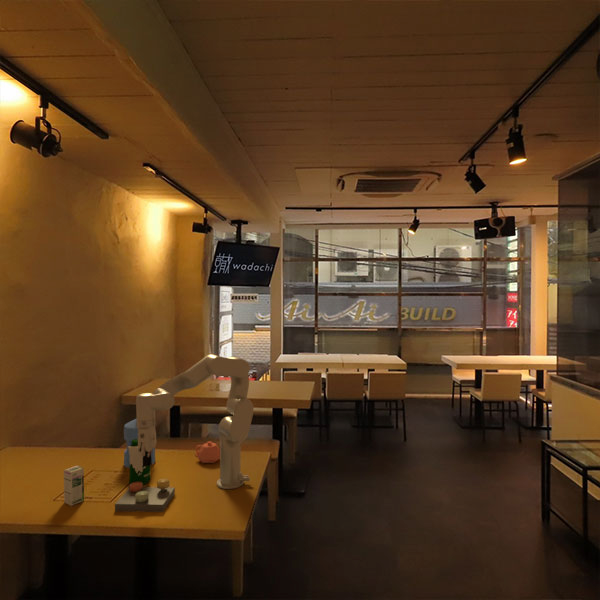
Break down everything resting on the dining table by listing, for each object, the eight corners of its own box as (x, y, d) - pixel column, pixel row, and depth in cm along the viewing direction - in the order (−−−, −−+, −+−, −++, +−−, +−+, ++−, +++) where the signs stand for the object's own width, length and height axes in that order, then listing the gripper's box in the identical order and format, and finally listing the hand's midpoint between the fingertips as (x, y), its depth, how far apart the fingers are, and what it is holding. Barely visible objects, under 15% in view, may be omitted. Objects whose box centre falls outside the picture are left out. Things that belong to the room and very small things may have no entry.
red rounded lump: (144, 492, 197) (144, 481, 197) (139, 498, 192) (139, 486, 192) (132, 492, 197) (132, 481, 197) (127, 498, 192) (127, 486, 192)
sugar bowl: (218, 465, 231) (218, 446, 231) (192, 465, 231) (192, 445, 231) (223, 456, 243) (223, 438, 243) (197, 456, 243) (197, 438, 243)
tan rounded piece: (170, 489, 197) (171, 478, 197) (167, 495, 191) (167, 483, 191) (159, 489, 197) (159, 478, 197) (155, 494, 192) (155, 483, 191)
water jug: (143, 455, 243) (143, 405, 243) (161, 462, 234) (161, 409, 234) (117, 464, 231) (117, 411, 230) (135, 471, 222) (135, 416, 221)
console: (174, 494, 198) (174, 487, 198) (163, 511, 182) (163, 504, 182) (130, 493, 198) (130, 486, 198) (114, 511, 182) (114, 503, 182)
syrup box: (71, 506, 186) (71, 472, 186) (63, 502, 189) (63, 469, 189) (84, 501, 191) (84, 467, 190) (76, 497, 194) (76, 464, 194)
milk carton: (136, 477, 215) (136, 437, 214) (153, 479, 213) (153, 438, 212) (126, 485, 206) (126, 443, 206) (143, 487, 204) (143, 444, 204)
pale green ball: (150, 502, 188) (150, 491, 188) (145, 508, 183) (145, 496, 183) (138, 502, 188) (138, 490, 188) (133, 508, 183) (133, 496, 183)
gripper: (149, 428, 180) (150, 472, 181) (160, 417, 195) (161, 458, 196) (130, 428, 180) (131, 472, 181) (143, 417, 195) (144, 458, 196)
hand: (147, 465), depth 188 cm, fingers closed
